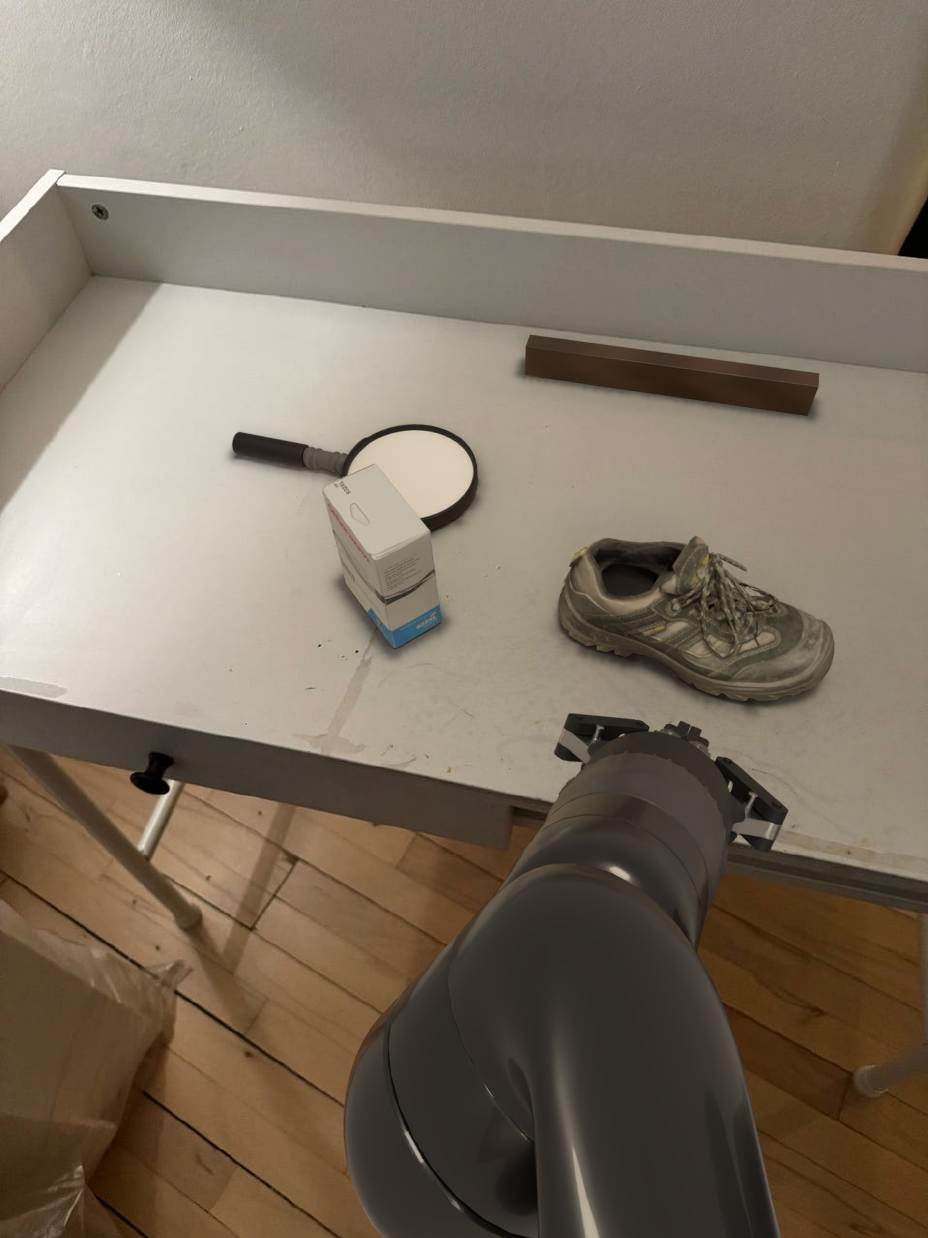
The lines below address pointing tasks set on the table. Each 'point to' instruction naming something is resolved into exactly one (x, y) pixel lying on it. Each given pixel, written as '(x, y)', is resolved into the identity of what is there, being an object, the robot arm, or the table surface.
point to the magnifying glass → (391, 465)
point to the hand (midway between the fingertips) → (686, 739)
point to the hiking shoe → (692, 618)
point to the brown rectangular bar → (671, 374)
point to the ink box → (384, 554)
